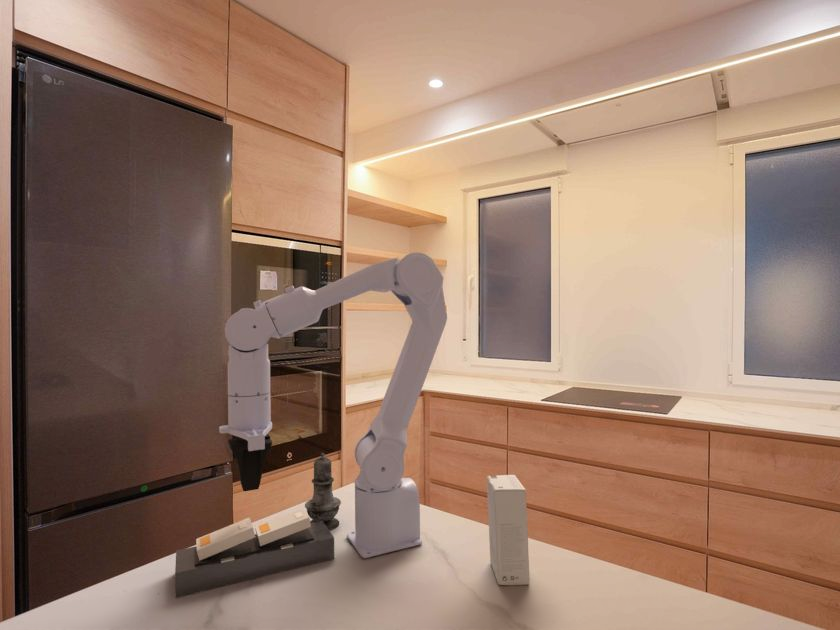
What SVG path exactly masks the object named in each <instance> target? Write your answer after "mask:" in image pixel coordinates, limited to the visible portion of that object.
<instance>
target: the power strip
mask: <svg viewBox="0 0 840 630" xmlns="http://www.w3.org/2000/svg"><path fill="white" fill-rule="evenodd" d="M310 524H311V527H309V528H306V529H304V530H301V531H299V532H296V533H293V534H291V535H288V536H286V537H283V538H281V539H278V540H275V541H273V542H270V543H268V544H265V545H262V546H260V544H259V541H258V538H257V535H256V533H254V534H255V537H254V538H252V539H250V540H247V541H245V542H243V543H240V544H238V545H236V546H233V547H231V548H228V549H226V550H224V551H221V552H219V553H217V554H214V555H212V556H210V557H207V558H205V559H203V560H200V561H199V557H198V553H197V545H196V546H192V547H191V546H190V547H187V548H183V549H178V550H176V551H175V566H174V567H175V568H174V570H175V572H174V573H175V574H174V581H175V591H174V592H175V597H174V598H175V599H177V598H180V597H184V596H189V595H192V594H193V595H194V594H196V593H197V594H198V593H201V592H205V591H209V590H213V589H216V588H220V587H225V586H229V585H234V584H238V583H242V582H245V581H250V580H254V579H258V578H263V577H267V576H269V575H274V574H278V573H282V572H286V571H291V570H294V569H298V568H303V567H307V566H311V565H315V564H319V563H320V564H321V563H323V562H328V561H331V560H332V561H333V560H334V559H335V537H334V535H333V534H332V533H331V530H330V531H329V529H328V528H327V526H326V525H325V524H324V522H323V521H317V522H313V523H310Z"/></svg>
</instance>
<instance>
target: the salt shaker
mask: <svg viewBox="0 0 840 630" xmlns="http://www.w3.org/2000/svg"><path fill="white" fill-rule="evenodd" d="M334 481H335V479H334V477H333V476H332V460H331V459H330V458H329V457H326V456H325V453H324V452H321V454H320V457H317V458H316V459H315V460H314V462H313V478H312V479H311V483H312V484H313V495H312V498H311V499H309V500H307V501H306V502H305V504H304V509H306V513H307V515H308V516H309V519H310V523H313V522H317V521H323V522H324V524H325V525H326V526H327V528H328V529H329V531H330V532H331V531H333V530H335V529H337V528H338V527H339V525H340V520H338V518H336V515H337V514H338V513H339V510H340V505H341V504H342V500H341V499H340V498H338V497H335V496H334V494H333V482H334Z"/></svg>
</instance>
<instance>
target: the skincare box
mask: <svg viewBox="0 0 840 630" xmlns="http://www.w3.org/2000/svg"><path fill="white" fill-rule="evenodd" d="M486 489H487V491H486V494H487V514H488V515H487V516H488V534H489V535H488V536H489V537H488V539H489V557H490V558H489V559H490V560H489V562H490V564H491V567H492V569H493V573H494V576H495V578H496V582H497V584H498V585H500V586H524V585H525V586H527V585H529V584H530V560H529V558H530V557H529V536H528V534H529V533H528V532H529V531H528V510H527V489H526V488H525V486H524V485H523V484H522V482H521V481H520V480H519V478H517V476H516V474H503V475H501V474H500V475H488V476H486Z"/></svg>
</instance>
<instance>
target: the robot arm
mask: <svg viewBox="0 0 840 630" xmlns="http://www.w3.org/2000/svg"><path fill="white" fill-rule="evenodd" d="M399 258H400V257H394V258H390V259H387V260H384V261H383V260H382V261H380V262H377V263H373V264H371V265H368V266H366V267H364V268H361V269H360V270H357V271H355V272H353V273H351V274H348V275H347V276H344V277H342V278H340V279H337V280H335V281H334V282H331V283H328V284H326V285H325V286H322V287H320V288H317V289H315V290H313V289H310V288H308V287H306V286H299V287H296V288H295V286H294V285H291V286H288V287H286V288H285V289H284V290H285V292H284V293H282V294H280V295H277V296H274V297H273V298H269V299H268V300H265V301H261V300H260V299H258V300H257V301H253V306H254V308H250V307H243V308H240V309H239V310H238V311H236V312H235V313H233V314H232V315H230V317H229V318H228V319H227V321H226V323H225V326H224V336H225V339H226V340H227V342H228V343H229V345H228V351H227V355H228V362H227V406H228V407H227V422H228V423H227V424H226V425H225V424H224V425H221V426H219V427H218V429H219V430H218V431H219V434H229V435H231V436H234V438H230V439H228V440H227V443H228V445H229V448H230V450H231V451H232V453H233V456H234V457H235V461H236V465H237V471H238V477H239V482H240V484H241V488H242V490H243V492H248V491H249V492H251V491H256V490H259V489H260V485H261V481H262V476H263V470H264V467H265V466H264V465H265V462H266V458H267V456H268V454H269V452H270V450H271V447H272V445H273V440H272V439H271V436H270V434H269V433H270V432H271V430H272V429H273V422H272V421H271V420H272V416H271V414H272V410H271V408H272V407H271V406H272V404H271V402H272V401H271V399H272V398H271V397H272V396H271V361H270V358H269V343H268V342H269V340H270V339H271V338H274V339H281V338H284V337H285V336H288V335H291V334H293V333H295V332H298V331H299V330H301V329H305V328H307V327H308V326H311V325H313V324H316V323H318V322H319V320H320V318H321V315H322V312H323V310H325V309H327V308H329V307H332V306H335V305H338V304H341V303H343V302H344V301H347V300H350V299H352V298H355V297H357V296H359V295H362V294H365V293H367V292H370V291H371V292H377V293H378V292H379V293H387V292H388V293H389V292H391V293H392V294H393V296H395V297H396V298H397V299H398V300H399V301H400V302H401V303H402V304H403V305H404V307H405V309H406V311H407V313H408V315H409V317H410V319H411V325H410V327H409V330H408V333H407V335H406V338H405V340H404V343H403V346H402V349H401V351H400V354H399V357H398V359H397V362H396V365H395V367H394V369H393V372H392V375H391V378H390V381H389V383H388V386H387V389H386V391H385V394H384V396H383V399H382V401H381V405H380V408H379V409H378V412H377V415H376V416H375V417H374V419H373V420H372V421H371V423H370V424H369V426H368V427H369V428H368V430H367V432H366V433H365V434H364V435H363V436H362V437H361V438H359V440H358V441H357V443H356V446H355V448H354V459H355V462H356V463H357V465H358V467H359V469H360V471H359V474H358V475H357V476H356V478H355V479H354V515H355V516H354V519H355V520H354V522H355V524H354V525H355V527H354V529H355V530H353V531H350V532H347V533H346V538H348V539H347V540H349V542H350V543H351V544H352V546H353V547H354V548H355V549H356V551H357V552H358V553H359V555H360V556H361V557H362V558H363V559H367V558H372V557H376V556H380V555H384V554H387V553H391V552H395V551H399V550H400V551H401V550H403V549H407V548H411V547H415V546H419V545H422V544H423V539H422V538H421V513H420V512H421V507H420V505H421V504H420V502H421V501H420V495H419V491H418V487H417V484H416V483H415V481H414V480H413V479H412V478H410V477H403V475H404V472H405V460H404V458H405V452H406V448H407V446H408V426H409V425H410V422H411V420H412V417H413V414H414V411H415V409H416V405H417V403H418V401H419V397H420V395H421V392H422V389H423V386H424V385H425V382H426V379H427V376H428V373H429V370H430V368H431V365H432V363H433V362H432V361H433V359H434V356H435V354H436V352H437V349H438V346H439V343H440V340H441V338H442V335H443V332H444V330H445V327H446V325H447V320H448V314H447V309H446V308H447V306H446V303H445V301H446V300H445V296H444V289H443V288H444V287H443V285H444V276H443V273H442V272H441V269H439V267H438V265H437V264H436V263H435V260H434V259H432V257H431V256H429V255H428V254H426V253H423V252H418V251H417V252H410V253H407V254H406V255H405V256H403V257H402V258H401V259H399Z"/></svg>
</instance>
